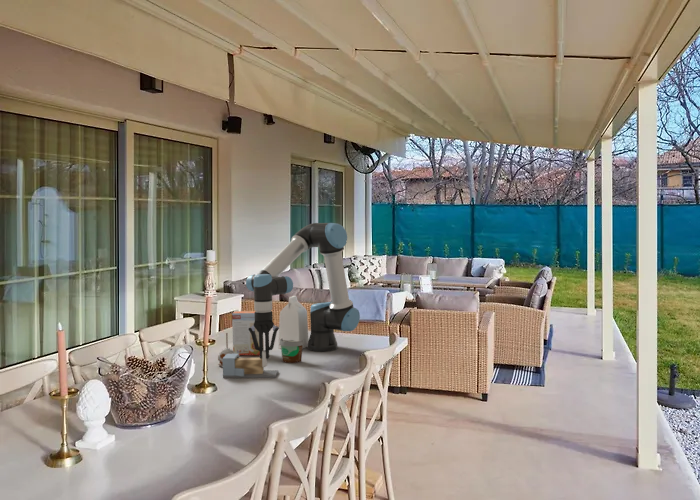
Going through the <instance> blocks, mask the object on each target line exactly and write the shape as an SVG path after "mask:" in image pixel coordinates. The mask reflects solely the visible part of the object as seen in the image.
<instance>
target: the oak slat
mask: <svg viewBox="0 0 700 500" xmlns="http://www.w3.org/2000/svg"><path fill="white" fill-rule="evenodd" d="M235 368H241V369H244V374H263V372H264V370H265V369H264V368H265V367H262V359H260V357H239V358H236V359H235Z"/></svg>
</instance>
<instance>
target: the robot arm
mask: <svg viewBox="0 0 700 500" xmlns="http://www.w3.org/2000/svg"><path fill="white" fill-rule="evenodd" d="M347 241H348V234H347V231H346V229H345V227H344V226H343V225H342V224H340V223H338V222H337V223H336V222H335V223H334V222H313V223H310V224H307V225H305V226H304V227H302V228H301V229H299V231H297V232H295V234H294V235H293V236H291V239H290V241H289V243H288V244H286V246H284V247H283V248H282V249H281V250H280V251H279V252H278V253H277V254H276V255H275V256H274V257H273V258H272V259H271V260H270V261H269V262H268V263H267V264H266V265H265V266H264V267H263V268H262V269H261V270H260V271H259V272H258V273H257V274H251V275H249V276H248V277H247V278H246V281H245V286H246V288H247V290H248V291H250V292H253V297H254V298H253V300H254V301H253V305H254V307H253V308H254V309H253V310H254V311H256V312H255V322H254V325H253V326H252V327H250V328H249V329H248V330H249V331H250V333H251V335H252V339H253V343H254V346H255V350H259V351H260V355H259V358H260V359H262V367H264V368H266V367H267V366H268V359H270V351H272V350H273V349H274V346H275V342H276V337H277V333H278V332H279V326H276V325H275V323H274V318H273V311H272V310H273V296H279V295H286V294H289V293H291V292H292V291H293V289H294V281H293V280H292V278H291V277H290V276H287V275H286V276H285V275H282V273H283V272H285V271H286V269H288V268H289V266H291V264H293V262H294V261H295V260H297V258H299V256H301V254H302V253H306V252H307V251H308V250H310V249H312V248H319V254H320V255H322V256H323V258H324V263H325V264H324V265H325V270H326V276H327V277H326V278H327V282H328V288H329V289H328V290H329V292H330V293H329V294H330V299H331V301H327V302H317V303H313V304H311V306H310V312H309V315H310V317H309V318H310V320H309V321H310V336H309V337H308V339H309V341H308V346H307V349H308V350H309V351H314V352H331V351H334V350H337V349H338V342H337V339H336V336H335V332H334V330H335V331H341V332H352V331H354V330H356V328H357V326H358V325H359V323H360V318H361V314H360V310H359V309H358V308H356V307H354V302H353V301H352V300H351V299H350V297H349V290H348V285H347V278H346V273H345V267H344V266H345V265H344V262H343V261H344V260H343V255H342V253H343V251H344V250H345V247H346V245H347ZM280 275H282V276H280ZM255 328H256V330H257V331H258V332H259V345H258V342H257V338H256V334H255V331H254V330H255ZM271 330H272V331H273V332H272V336H271V340H270V332H271ZM263 340H264V343H265V344H264V348H263ZM263 349H264V350H263Z"/></svg>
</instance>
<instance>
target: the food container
mask: <svg viewBox="0 0 700 500" xmlns="http://www.w3.org/2000/svg"><path fill="white" fill-rule="evenodd" d="M278 345H281V349H280V350H281V359H282V363H285V364H296V363H297V364H298V363H301V362H302V359H303V357H302V356H303V349H302V346H303V345H304V343H303V340H302V341H297V342H296V341H293V340H290V341H286V340H283V338H282V339H280V343H279V342H278Z"/></svg>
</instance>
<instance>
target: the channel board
mask: <svg viewBox="0 0 700 500" xmlns="http://www.w3.org/2000/svg"><path fill="white" fill-rule="evenodd" d="M236 358H240V355H239V354H227V355H225V356H224V357H223V367H222V379H276V378H277V376H278V374H279V370H278V369H277V370H275V369H273V370H271V369H270V370H269V369H268V370H267V369H264V372H263V374H244V369H241V368H235V359H236Z"/></svg>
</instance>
